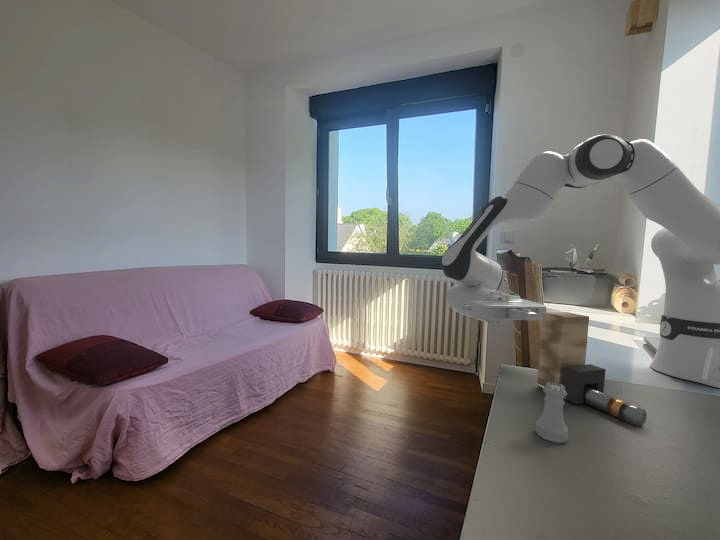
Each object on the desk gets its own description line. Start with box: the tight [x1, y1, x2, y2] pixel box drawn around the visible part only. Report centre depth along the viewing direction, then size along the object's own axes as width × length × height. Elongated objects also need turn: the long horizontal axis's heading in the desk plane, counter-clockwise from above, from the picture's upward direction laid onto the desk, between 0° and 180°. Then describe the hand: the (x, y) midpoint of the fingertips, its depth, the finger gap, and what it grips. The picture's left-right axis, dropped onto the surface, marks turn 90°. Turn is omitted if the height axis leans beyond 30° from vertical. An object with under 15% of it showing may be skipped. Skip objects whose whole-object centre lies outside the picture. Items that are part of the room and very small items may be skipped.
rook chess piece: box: [535, 382, 569, 444], centre depth 51 cm, size 4×4×8 cm
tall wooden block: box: [536, 311, 590, 387], centre depth 69 cm, size 5×7×16 cm
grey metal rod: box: [583, 386, 647, 428], centre depth 63 cm, size 15×3×3 cm, turn 20°
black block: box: [563, 364, 606, 405], centre depth 65 cm, size 3×7×6 cm, turn 109°
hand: (532, 316), depth 76 cm, fingers closed
